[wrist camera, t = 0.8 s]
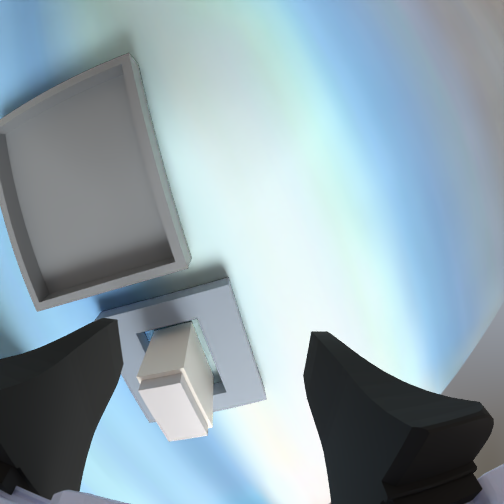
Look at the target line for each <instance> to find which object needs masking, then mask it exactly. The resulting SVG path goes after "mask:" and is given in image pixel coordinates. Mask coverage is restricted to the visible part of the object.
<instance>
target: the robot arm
mask: <svg viewBox="0 0 504 504" xmlns="http://www.w3.org/2000/svg"><path fill="white" fill-rule="evenodd" d="M123 365H124V362H123V356H122V350H121V343H120V335H119V328H118V320H117V319H110V318H101V319H98V320H96V321H94V322H92V323H90V324H88V325H86V326H84V327H82V328H80V329H78V330H76V331H74V332H72V333H70V334H68V335H66V336H64V337H62V338H60V339H58V340H56V341H54V342H51V343H49V344H47V345H45V346H42V347H40V348H37V349H35V350H32V351H29V352H26V353H23V354H19V355H15V356H11V357H7V358H3V359H0V504H129V503H124V502H120V501H116V500H111V499H107V498H104V497H100V496H96V495H93V494H89V493H83V492H79V491H80V485H81V480H82V475H83V471H84V466H85V462H86V458H87V455H88V451H89V448H90V444H91V441H92V438H93V435H94V432H95V430H96V427H97V425H98V423H99V421H100V419H101V417H102V415H103V413H104V411H105V408H106V406H107V404H108V402H109V400H110V398H111V396H112V394H113V392H114V390H115V388H116V386H117V383H118V380H119V377H120V374H121V371H122V368H123ZM303 377H304V383H305V390H306V395H307V399H308V403H309V406H310V409H311V412H312V415H313V418H314V422H315V425H316V428H317V431H318V434H319V437H320V440H321V444H322V447H323V451H324V457H325V462H326V468H327V474H328V481H329V488H330V496H331V504H504V464H502V465H500V466H499V467H497V468H495V469H493V470H491V471H488V472H486V473H485V474H483V475H482V476H481V477H480V478H478V479H476V477H475V476H474V474H473V473H474V472H475V471H476V470H477V466H476V465H475V463H474V462H473V460H474V458H475V457H476V456H477V454H478V453H479V451H480V450H481V448H482V447H483V446H484V444H485V443H486V441H487V440H488V438H489V436H490V434H491V432H492V429H493V425H494V421H493V418H492V417H491V415H490V414H489V413H488V411H487V410H486V409H485V408H484V406H483V405H482V404H481V403H480V402H476V401H469V400H463V399H457V398H451V397H447V396H443V395H440V394H436V393H433V392H429V391H426V390H424V389H421V388H418V387H416V386H413V385H410V384H408V383H406V382H404V381H401V380H400V379H398V378H396V377H394V376H392V375H390V374H388V373H386V372H384V371H382V370H381V369H379V368H378V367H376V366H374V365H373V364H371V363H370V362H368V361H367V360H365V359H364V358H362V357H361V356H360V355H358V354H357V353H356V352H354V351H353V350H352V349H350V348H349V347H348V346H346V345H345V344H344V343H342V342H341V341H340V340H338V339H337V338H336V337H335V336H333V335H332V334H330V333H329V332H311V337H310V343H309V348H308V354H307V359H306V364H305V370H304V375H303Z"/></svg>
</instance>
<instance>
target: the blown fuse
mask: <svg viewBox="0 0 504 504" xmlns="http://www.w3.org/2000/svg"><path fill="white" fill-rule="evenodd" d="M137 379H138V381H139V383H140V386H139V389H138V392H139V393H140V395H141V397H142V399H143V400H144V402H145V404H146V406H147V407H148V409H149V411H150V412H151V414H152V416H153V417H154V419H155V420H156V422H157V424H158V425H159V427H160V428H161V430H162V432H163V433H164V435H165V436H166V438H167V439H168V441H176V440H183V439H190V438H196V437H202V436H208V428H211V427H213V373H212V371H211V368H210V366H209V363H208V361H207V358H206V356H205V353H204V351H203V349H202V346H201V344H200V341H199V338H198V336H197V333H196V331H195V328H194V326H193V323H192V322H188V323H184V324H180V325H176V326H172V327H168V328H164V329H160V330H156V331H154V333H153V336H152V338H151V341H150V343H149V346H148V348H147V351H146V353H145V356H144V358H143V361H142V364H141V366H140V369H139V372H138V374H137Z"/></svg>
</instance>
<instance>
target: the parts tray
mask: <svg viewBox="0 0 504 504" xmlns="http://www.w3.org/2000/svg"><path fill="white" fill-rule="evenodd" d="M0 206H1V210H2V214H3V217H4V221H5V225H6V228H7V232H8V235H9V238H10V241H11V245H12V248H13V251H14V254H15V257H16V260H17V262H18V265H19V268H20V271H21V274H22V276H23V279H24V281H25V284H26V287H27V289H28V292H29V294H30V296H31V299H32V301H33V304H34V306H35V308H36V311H37V312H38V311H41V310H45V309H48V308H52V307H55V306H59V305H62V304H66V303H69V302H73V301H76V300H80V299H83V298H87V297H90V296H94V295H97V294H101V293H104V292H108V291H111V290H115V289H118V288H122V287H125V286H129V285H132V284H136V283H139V282H143V281H146V280H150V279H153V278H157V277H160V276H164V275H167V274H171V273H174V272H178V271H181V270H185V269H188V267H189V264H190V261H191V259H192V257H191V254H190V251H189V248H188V245H187V242H186V238H185V235H184V232H183V229H182V226H181V222H180V219H179V216H178V213H177V209H176V206H175V203H174V199H173V196H172V192H171V189H170V185H169V182H168V178H167V175H166V171H165V168H164V164H163V161H162V157H161V153H160V150H159V146H158V142H157V138H156V135H155V131H154V127H153V123H152V119H151V115H150V111H149V107H148V103H147V99H146V95H145V91H144V86H143V82H142V78H141V73H140V69H139V65H138V64H137V62H136V61H135V60H134V59H133V57H132V56H131V55H130V53H127V54H125V55H122V56H119V57H117V58H114V59H112V60H110V61H107V62H105V63H102V64H100V65H98V66H96V67H93V68H91V69H89V70H87V71H85V72H83V73H80V74H78V75H76V76H74V77H72V78H70V79H68V80H66V81H64V82H62V83H60V84H58V85H57V86H55V87H53V88H51V89H49V90H47V91H45V92H44V93H42V94H40V95H38V96H37V97H35V98H33V99H32V100H30V101H28V102H26V103H25V104H23V105H22V106H20V107H18V108H17V109H15V110H14V111H12V112H11V113H9V114H7V115H6V116H4V117H3V118H1V119H0Z"/></svg>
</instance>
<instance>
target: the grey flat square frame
mask: <svg viewBox="0 0 504 504" xmlns="http://www.w3.org/2000/svg"><path fill="white" fill-rule="evenodd" d="M101 318H110V319H117V320H118V328H119V335H120V343H121V350H122V356H123V362H124V365H123V368H122V371H121V375H122V377H123V378H124V380H125V382H126V384H127V386H128V387H129V389H130V391H131V393H132V394H133V396H134V398H135V400H136V401H137V403H138V405H139V406H140V408H141V410H142V411H143V413H144V415H145V416H146V418H147V419H148V421H149V423H151V422H156V420H155V419H154V417H153V416H152V414H151V412H150V411H149V409H148V407H147V406H146V404H145V402H144V400H143V399H142V397H141V395H140V393H139V392H138V389H139V386H140V383H139V381H138V379H137V374H138V372H139V369H140V366H141V364H142V361H143V358H144V356H145V353H146V351H147V348H148V346H149V342H148V340H147V337H146V335H145V333H144V332H145V331H149V330H153V329H157V328H161V327H165V326H169V325H173V324H177V323H181V322H185V321H189V320H193V319H198V321H199V324H200V327H201V329H202V332H203V335H204V337H205V340H206V342H207V345H208V348H209V350H210V353H211V355H212V358H213V360H214V363H215V365H216V368H217V370H218V373H219V375H220V377H221V380H222V382H220V383H215V384H213V412H215V411H220V410H225V409H229V408H234V407H238V406H242V405H246V404H251V403H255V402H259V401H262V400H266V394H265V389H264V386H263V383H262V380H261V377H260V374H259V371H258V368H257V365H256V362H255V359H254V356H253V353H252V350H251V346H250V343H249V340H248V337H247V334H246V331H245V328H244V325H243V322H242V319H241V315H240V312H239V309H238V306H237V303H236V300H235V296H234V293H233V290H232V287H231V284H230V280H229V277H228V278H224V279H221V280H217V281H214V282H210V283H206V284H203V285H199V286H196V287H192V288H188V289H185V290H181V291H177V292H174V293H170V294H166V295H163V296H159V297H155V298H152V299H148V300H144V301H141V302H137V303H133V304H129V305H126V306H122V307H118V308H114V309H110V310H107V311H103V312H101V313H100V314H99V315H98V317H97V318H96V319H95V321H96V320H98V319H101Z"/></svg>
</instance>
